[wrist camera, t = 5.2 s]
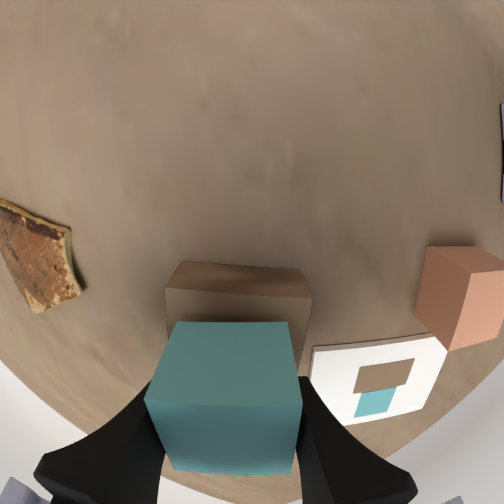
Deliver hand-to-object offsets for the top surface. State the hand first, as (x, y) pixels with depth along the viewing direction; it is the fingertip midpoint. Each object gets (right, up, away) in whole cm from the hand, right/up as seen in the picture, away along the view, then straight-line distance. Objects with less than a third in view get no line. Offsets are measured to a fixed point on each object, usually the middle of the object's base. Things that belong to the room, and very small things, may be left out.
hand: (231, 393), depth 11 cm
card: (+11, -4, +8) cm, 15 cm away
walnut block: (0, +2, +7) cm, 7 cm away
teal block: (0, +1, +2) cm, 2 cm away
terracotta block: (+15, +4, +6) cm, 17 cm away
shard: (-16, +6, +6) cm, 18 cm away
